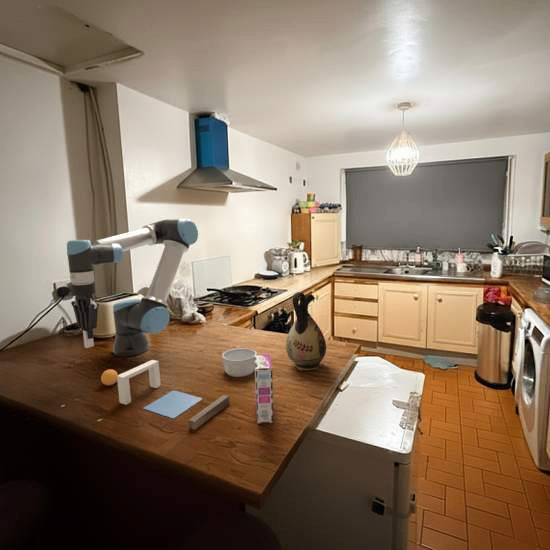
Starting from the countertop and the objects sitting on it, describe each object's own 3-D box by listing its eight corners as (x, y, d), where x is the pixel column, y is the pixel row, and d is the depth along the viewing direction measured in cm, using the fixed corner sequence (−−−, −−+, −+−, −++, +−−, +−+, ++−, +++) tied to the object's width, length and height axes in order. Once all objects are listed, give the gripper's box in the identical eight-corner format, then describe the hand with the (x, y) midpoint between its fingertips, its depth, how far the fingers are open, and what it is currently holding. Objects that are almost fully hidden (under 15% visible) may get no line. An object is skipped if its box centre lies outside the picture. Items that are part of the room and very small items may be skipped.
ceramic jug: (299, 355, 150) (298, 286, 145) (333, 363, 141) (332, 289, 136) (276, 370, 136) (274, 293, 131) (311, 379, 127) (310, 297, 123)
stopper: (189, 428, 99) (188, 420, 99) (224, 402, 113) (223, 394, 113) (194, 430, 98) (194, 421, 98) (229, 403, 112) (228, 396, 112)
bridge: (119, 402, 115) (116, 375, 113) (154, 384, 127) (152, 359, 126) (125, 404, 113) (123, 377, 112) (160, 385, 126) (158, 361, 124)
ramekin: (226, 364, 143) (225, 347, 142) (258, 363, 143) (258, 347, 142) (220, 379, 130) (219, 361, 129) (255, 378, 130) (255, 360, 129)
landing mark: (142, 408, 111) (142, 408, 111) (173, 390, 122) (173, 390, 122) (173, 418, 104) (173, 418, 104) (202, 399, 116) (202, 398, 116)
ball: (98, 386, 127) (96, 371, 126) (112, 379, 132) (110, 365, 131) (108, 389, 124) (106, 374, 124) (122, 382, 129) (120, 368, 128)
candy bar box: (274, 423, 101) (272, 368, 98) (256, 424, 100) (254, 369, 98) (271, 403, 112) (270, 353, 109) (255, 404, 111) (253, 354, 109)
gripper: (61, 283, 127) (68, 347, 130) (83, 286, 121) (90, 352, 124) (81, 280, 133) (87, 341, 137) (103, 282, 127) (109, 346, 131)
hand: (89, 346), depth 130 cm, fingers closed
